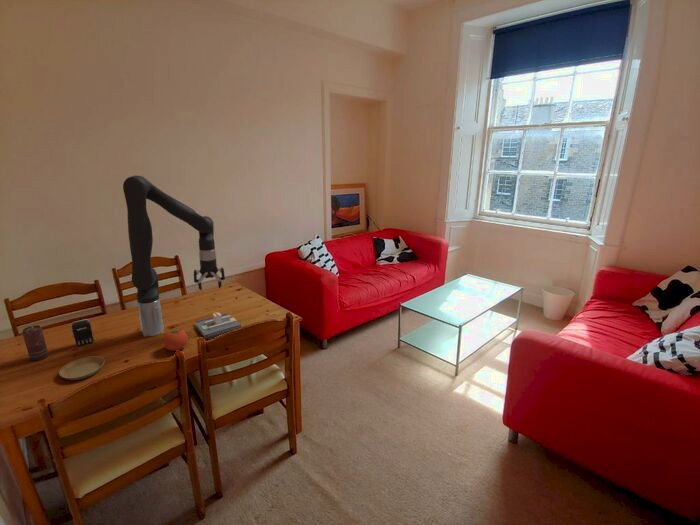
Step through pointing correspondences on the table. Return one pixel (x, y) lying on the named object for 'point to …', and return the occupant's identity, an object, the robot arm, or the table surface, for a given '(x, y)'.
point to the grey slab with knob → (218, 332)
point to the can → (35, 343)
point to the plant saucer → (82, 368)
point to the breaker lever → (217, 318)
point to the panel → (210, 327)
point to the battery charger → (82, 332)
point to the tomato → (175, 339)
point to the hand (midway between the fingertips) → (210, 288)
